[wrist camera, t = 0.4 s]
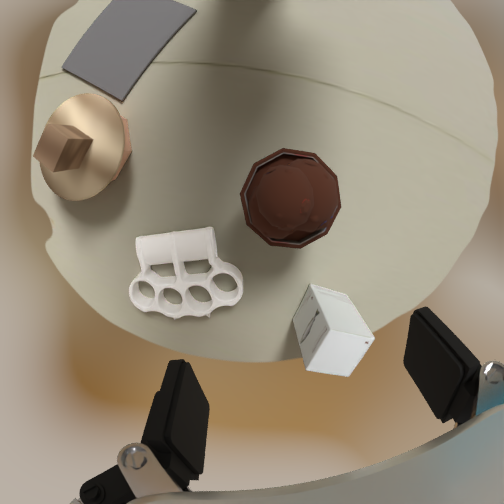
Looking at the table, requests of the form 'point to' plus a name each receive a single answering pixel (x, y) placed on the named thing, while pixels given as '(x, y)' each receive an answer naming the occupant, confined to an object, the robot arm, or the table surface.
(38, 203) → the table surface
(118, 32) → the rubber mat
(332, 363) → the supplement box
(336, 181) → the ice cream bowl
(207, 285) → the white holed part
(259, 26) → the table surface
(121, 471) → the robot arm
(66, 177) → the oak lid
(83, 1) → the table surface
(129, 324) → the table surface
